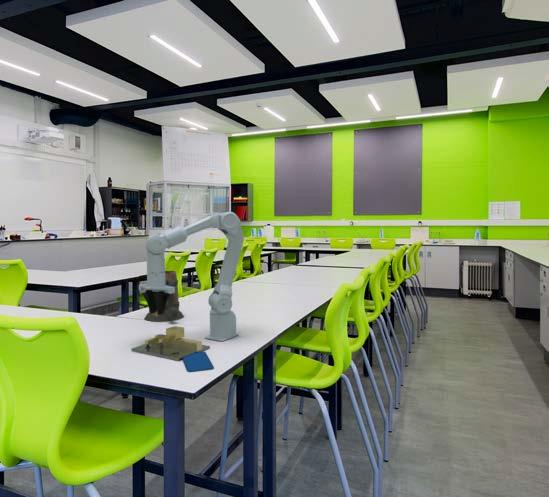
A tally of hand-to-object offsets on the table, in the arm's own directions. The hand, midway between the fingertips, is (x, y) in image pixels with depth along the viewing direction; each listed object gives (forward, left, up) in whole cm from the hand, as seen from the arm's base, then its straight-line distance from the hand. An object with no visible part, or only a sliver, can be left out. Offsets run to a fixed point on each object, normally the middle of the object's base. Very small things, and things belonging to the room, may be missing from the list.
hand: (156, 313), depth 132 cm
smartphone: (+7, +23, -11) cm, 26 cm away
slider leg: (+2, +8, -9) cm, 12 cm away
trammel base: (+2, +8, -10) cm, 13 cm away
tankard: (-29, -25, -11) cm, 40 cm away
